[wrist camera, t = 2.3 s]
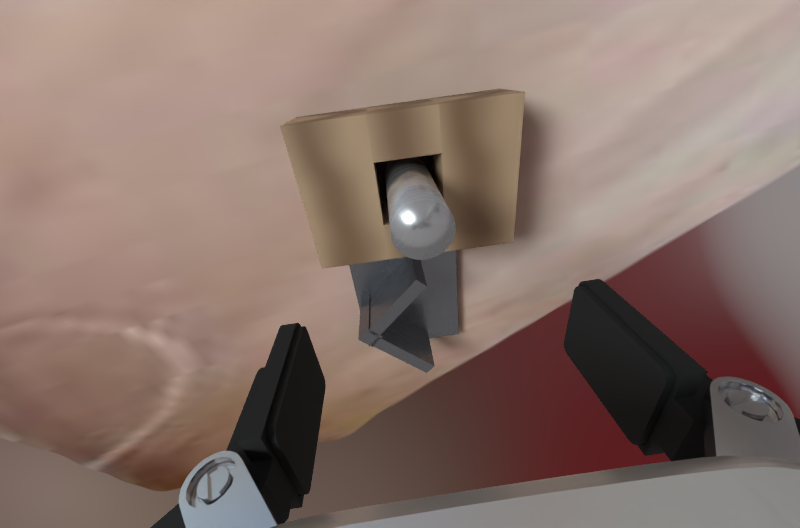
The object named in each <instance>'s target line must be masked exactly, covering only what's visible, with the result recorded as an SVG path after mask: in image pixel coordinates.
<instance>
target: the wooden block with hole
mask: <svg viewBox="0 0 800 528" xmlns="http://www.w3.org/2000/svg"><path fill="white" fill-rule="evenodd" d="M524 98H525V92H521V91H513V90H504V89H494V90H487V91H480V92H473V93H466V94H459V95H452V96H445V97H438V98H431V99H423V100H416V101H409V102H402V103H395V104H388V105H381V106H374V107H367V108H360V109H352V110H345V111H338V112H331V113H324V114H317V115H310V116H303V117H296V118H295V119H293V120H291V121H289V122H287V123H286V124H284V125H282V126H280V127H281V130H282V134H283V137H284V140H285V144H286V147H287V151H288V154H289V157H290V161H291V164H292V168H293V171H294V174H295V178H296V181H297V185H298V188H299V191H300V195H301V198H302V201H303V205H304V208H305V212H306V215H307V218H308V222H309V225H310V229H311V232H312V235H313V239H314V242H315V246H316V249H317V252H318V256H319V259H320V263H321V266H322V269H323V268H330V267H337V266H344V265H352V264H359V263H366V262H373V261H380V260H388V259H395V258H402V257H406V256H404V255H403V254H401V253H400V252H399V251H398V250H397V249H396V248H395V246H394V244H393V242H392V240H391V234H390V223H389V212H388V202H385V203H382V197H381V191H380V184H379V178H378V172H377V165H376V162H383V161H390V160H397V159H405V158H412V157H419V156H426V155H432V165H433V180H434V182H435V184H436V186H437V188H438V190H439V191H440V193H441V195H442V197H443V199H444V201H445V202H446V204H447V206H448V208H449V210H450V212H451V214H452V215H453V218H454V220H455V226H456V231H455V236H454V239H453V241H452V243H451V244H450V246H449V247H448V248H447V249H446V250H445V251H444V252H446V251H453V250H460V249H467V248H475V247H482V246H489V245H496V244H504V243H511V242H514V230H515V217H516V204H517V191H518V178H519V164H520V151H521V138H522V125H523V112H524Z"/></svg>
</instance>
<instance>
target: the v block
mask: <svg viewBox="0 0 800 528" xmlns="http://www.w3.org/2000/svg"><path fill="white" fill-rule="evenodd" d="M349 266H350V270H351V274H352V278H353V282H354V287H355V291H356V295H357V299H358V303H359V307H360V325H359V340H360V341H362V342H364V343H366V344H368V345H369V346H372V347H373V346H374V347H376V348H378V349H380V350H382V351H384V352H386V353H388V354H390V355H392V356H394V357H396V358H398V359H400V360H402V361H404V362H406V363H408V364H410V365H412V366H414V367H416V368H418V369H420V370H422V371H424V372H426V373H427V372H428V371H429V370H431V369H432V368H433V367H434V361H433V356H432V351H431V346H430V341H429V338H433V337H440V336H448V335H455V334H459V330H458V299H457V268H456V250H453V251H446V252H443V253H441V254H440V255H438V256H436V257H434V258H431V259H426V260H416V259H411V258H408V257H402V258H395V259H388V260H380V261H373V262H366V263H359V264H352V265H349Z"/></svg>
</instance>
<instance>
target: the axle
mask: <svg viewBox="0 0 800 528" xmlns="http://www.w3.org/2000/svg"><path fill="white" fill-rule="evenodd" d="M385 180H386V191H387V201H388V212H389V223H390V234H391V240H392V242H393V244H394V246H395V248H396V249H397V250H398V251H399V252H400V253H401V254H403V255H404V256H406V257H408V258H411V259H416V260H426V259H431V258H434V257H436V256H438V255H440V254H441V253H443V252H444V251H445V250H446V249H447V248H448V247H449V246H450V244H451V243H452V241H453V239H454V236H455V231H456V226H455V220H454V218H453V215H452V214H451V212H450V210H449V208H448V206H447V204H446V202H445V201H444V199H443V197H442V195H441V193H440V191H439V190H438V188H437V186H436V184H435V182H434V180H433V178H432V177H431V175H430V173H429V171H428V169H427V167H426V166H425V164H424V162H423V160H422V159H421V158H420V157H412V158H405V159H397V160H390V161H388V163H387V165H386V168H385Z"/></svg>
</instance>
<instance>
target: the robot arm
mask: <svg viewBox="0 0 800 528" xmlns="http://www.w3.org/2000/svg"><path fill="white" fill-rule="evenodd" d="M564 348H565V351H566V353H567V354H568V356H569V357H570V359H571V360H572V361H573V363H574V364H575V366H576V367H577V368H578V370H579V371H580V373H581V374H582V375H583V377H584V378H585V380H586V381H587V382H588V384H589V385H590V387H591V388H592V389H593V391H594V392H595V394H596V395H597V396H598V398H599V399H600V401H601V402H602V403H603V405H604V406H605V408H606V409H607V410H608V412H609V413H610V414H611V416H612V417H613V419H614V420H615V421H616V423H617V424H618V426H619V427H620V428H621V430H622V431H623V433H624V434H625V435H626V437H627V438H628V440H629V441H630V442H631V443H632V444H634V445H638V446H639V448H640V449H641V451H642V452H643V454H644V455H645V456H646V455H653V454H659V453H664V452H665V454H666V455H667V456H668V457H669V459H670V460H671V461H670V462H662V463H654V464H646V465H639V466H632V467H625V468H618V469H611V470H605V471H597V472H590V473H583V474H576V475H570V476H563V477H556V478H549V479H543V480H536V481H529V482H522V483H516V484H509V485H503V486H496V487H489V488H483V489H477V490H469V491H463V492H457V493H450V494H444V495H438V496H431V497H424V498H418V499H412V500H405V501H398V502H392V503H385V504H379V505H373V506H367V507H361V508H355V509H350V510H344V511H338V512H332V513H327V514H322V515H316V516H311V517H307V518H302V519H298V520H294V521H290V522H286V523H285V521H286V520H287V519H288V517H289V512H290V509H293V508H299V507H302V504H303V497H304V494H308V493H309V491H310V487H311V480H312V474H313V468H314V461H315V454H316V447H317V441H318V434H319V427H320V421H321V414H322V407H323V401H324V394H325V379H324V376H323V373H322V370H321V367H320V365H319V362H318V359H317V356H316V354H315V351H314V348H313V345H312V343H311V340H310V337H309V334H308V331H307V329H306V327H305V326H303V327H301V326H300V324H299V323H294V324H288V325H282V326H280V328H279V331H278V334H277V336H276V339H275V342H274V345H273V347H272V350H271V353H270V355H269V358H268V361H267V363H266V366H265V367H264V368H261V369H259V370H258V372H257V374H256V376H255V379H254V382H253V384H252V387H251V389H250V392H249V394H248V397H247V399H246V402H245V405H244V407H243V410H242V412H241V415H240V417H239V420H238V422H237V425H236V428H235V430H234V433H233V435H232V438H231V440H230V443H229V445H228V448H227V451H221V452H218V453H215V454H213V455H211V456H209V457H208V458H206V459H204V460H203V461H202V462H201V463H199V464H198V465H197V466H196V467H195V468H194V469H193V470H192V472H191V473H190V474H189V475H188V477H187V478H186V480H185V482H184V484H183V485H182V487H181V491H180V495H179V504H178V505H176V506H175V507H174V508H173V509H172V510H171V511H169V512H168V513H167V514H166V515H165V516H164V517H162V518H161V519H160V520H159V521H158V522H157V523H156V524H154V525H153V526H152V527H151V528H800V419H797V418H795V417H794V416H793V414H792V412H791V410H790V409H789V406H788V405H787V404H786V403H785V402H783V400H782V399H781V398H779V397H778V396H776V395H775V394H774V393H772V392H771V391H769V390H768V389H766V388H764V387H762V386H760V385H758V384H756V383H753V382H750V381H747V380H745V379H740V378H735V377H720V378H716V379H715V380H712V379H710V378H709V377H708V376H707V375H706V374H707V371H706V370H705V369H704V368H703V367H701V366H700V365H699V364H698V363H697V362H696V361H695V360H694V359H692V358H691V357H690V356H689V355H688V354H686V353H685V352H684V351H683V350H682V349H681V348H679V347H678V346H677V345H676V344H675V343H674V342H673V341H672V340H670V339H669V338H668V337H667V336H666V335H665V334H663V333H662V332H661V331H660V330H659V329H658V328H657V327H655V326H654V325H653V324H652V323H651V322H650V321H648V320H647V319H646V318H645V317H644V316H643V315H641V314H640V313H639V312H638V311H637V310H636V309H635V308H633V307H632V306H631V305H630V304H629V303H628V302H627V301H625V300H624V299H623V298H622V297H621V296H620V295H618V294H617V293H616V292H615V291H614V290H613V289H612V288H610V287H609V286H608V285H607V284H606V283H605V282H603V281H602V280H600V279H595V280H589V281H582V282H580V284H579V286H577V287H576V288H575V290H574V294H573V299H572V304H571V310H570V315H569V320H568V325H567V330H566V335H565V341H564Z"/></svg>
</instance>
